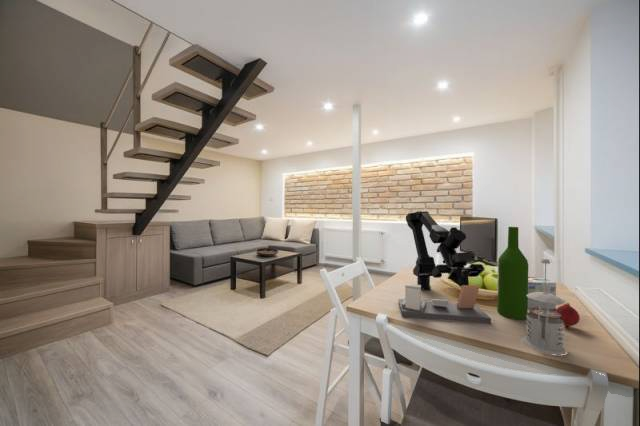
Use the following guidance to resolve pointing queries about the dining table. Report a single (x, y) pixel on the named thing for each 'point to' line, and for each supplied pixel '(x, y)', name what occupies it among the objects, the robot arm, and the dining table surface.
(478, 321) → the control console
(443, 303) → the rocker switch
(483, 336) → the dining table surface
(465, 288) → the tan rectangular board
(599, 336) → the dining table surface
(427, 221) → the robot arm
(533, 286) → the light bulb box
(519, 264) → the wine bottle
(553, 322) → the french press
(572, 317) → the onion
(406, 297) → the slider button
